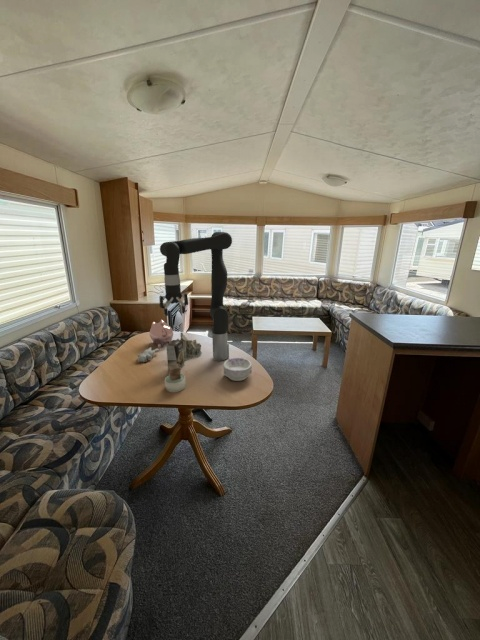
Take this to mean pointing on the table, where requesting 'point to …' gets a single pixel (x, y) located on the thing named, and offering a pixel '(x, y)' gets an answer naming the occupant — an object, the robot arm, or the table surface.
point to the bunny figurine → (146, 355)
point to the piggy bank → (161, 333)
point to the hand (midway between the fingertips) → (175, 314)
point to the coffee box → (175, 353)
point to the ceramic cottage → (190, 348)
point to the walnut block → (174, 372)
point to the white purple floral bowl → (237, 368)
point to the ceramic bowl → (175, 384)
